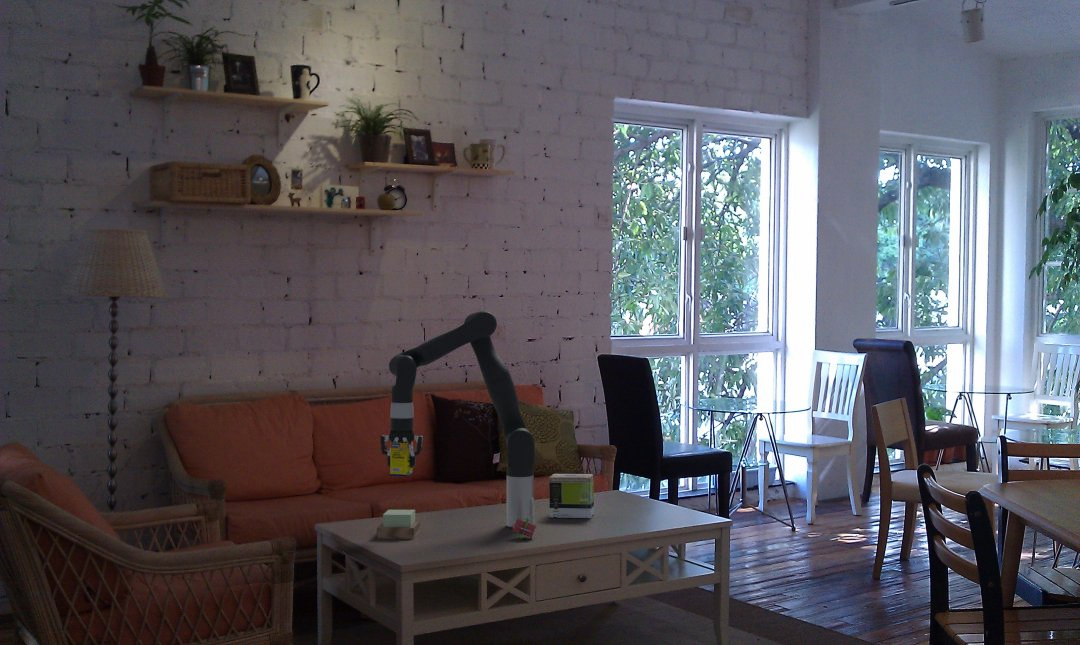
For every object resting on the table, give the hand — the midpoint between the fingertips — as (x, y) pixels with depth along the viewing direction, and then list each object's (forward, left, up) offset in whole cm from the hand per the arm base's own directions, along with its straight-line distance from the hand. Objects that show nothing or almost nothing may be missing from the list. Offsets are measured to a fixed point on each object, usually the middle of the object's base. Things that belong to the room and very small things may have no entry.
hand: (401, 467), depth 353 cm
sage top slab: (+1, 0, -19) cm, 19 cm away
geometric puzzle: (-40, +3, -22) cm, 46 cm away
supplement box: (0, 0, -3) cm, 3 cm away
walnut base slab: (+1, 0, -23) cm, 23 cm away
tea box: (-54, -38, -22) cm, 70 cm away
